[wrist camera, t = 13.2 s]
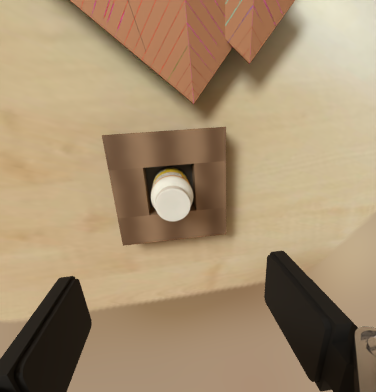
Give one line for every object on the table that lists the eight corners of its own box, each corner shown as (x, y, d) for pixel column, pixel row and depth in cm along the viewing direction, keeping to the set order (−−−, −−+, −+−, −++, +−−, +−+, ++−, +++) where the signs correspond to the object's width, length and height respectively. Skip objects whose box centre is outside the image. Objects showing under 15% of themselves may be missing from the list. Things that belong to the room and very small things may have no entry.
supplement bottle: (154, 165, 30) (149, 180, 21) (189, 167, 31) (199, 182, 22) (153, 199, 32) (148, 226, 23) (186, 200, 32) (194, 227, 23)
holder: (219, 127, 30) (225, 126, 26) (220, 224, 35) (226, 233, 31) (109, 134, 28) (101, 135, 25) (127, 234, 33) (123, 245, 30)
